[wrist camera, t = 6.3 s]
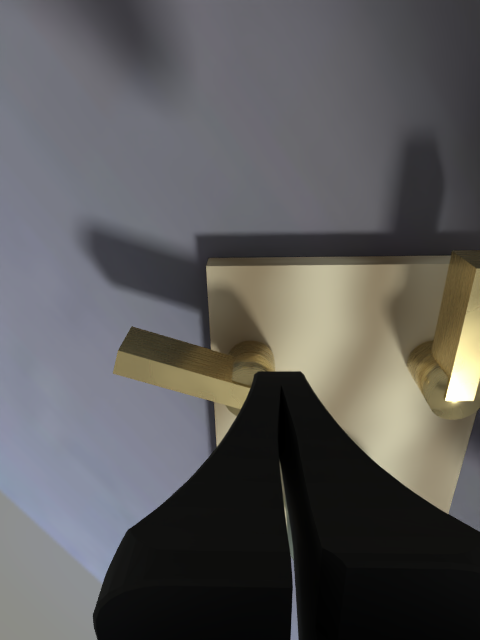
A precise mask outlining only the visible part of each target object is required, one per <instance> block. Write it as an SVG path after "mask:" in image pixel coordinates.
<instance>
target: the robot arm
mask: <svg viewBox="0 0 480 640" xmlns="http://www.w3.org/2000/svg"><path fill="white" fill-rule="evenodd" d="M280 465H281V471H282V478H283V484H284V490H285V496H286V503H287V509H288V515H289V521H290V528H291V535H292V544H293V555H294V571H295V586H296V602H297V618H298V635H299V640H480V532H479V531H477V530H475V529H474V528H472V527H470V526H468V525H467V524H465V523H463V522H461V521H460V520H458V519H456V518H454V517H453V516H451V515H449V514H447V513H446V512H444V511H442V510H440V509H439V508H437V507H436V506H434V505H432V504H431V503H429V502H428V501H426V500H425V499H423V498H422V497H420V496H419V495H417V494H416V493H414V492H413V491H412V490H410V489H409V488H407V487H406V486H405V485H403V484H402V483H401V482H399V481H398V480H397V479H396V478H394V477H393V476H392V475H390V474H389V473H388V472H387V471H385V470H384V469H383V468H381V467H380V466H379V465H378V464H377V463H376V462H375V461H373V460H372V459H371V458H370V457H369V456H368V455H367V454H366V453H365V452H364V451H363V450H362V449H361V448H360V447H359V446H358V445H357V444H356V443H355V442H354V441H353V440H352V439H351V438H350V437H349V436H348V435H347V433H346V432H345V431H344V430H343V429H342V428H341V427H340V426H339V424H338V423H337V422H336V421H335V419H334V418H333V417H332V416H331V414H330V413H329V412H328V410H327V409H326V408H325V407H324V405H323V404H322V402H321V401H320V400H319V398H318V397H317V395H316V394H315V392H314V391H313V389H312V388H311V386H310V384H309V383H308V381H307V379H306V377H305V375H304V374H303V373H302V372H301V371H258V372H257V373H255V374H254V378H253V382H252V385H251V388H250V391H249V393H248V395H247V398H246V400H245V402H244V404H243V406H242V408H241V410H240V412H239V414H238V415H237V417H236V419H235V420H234V422H233V424H232V425H231V427H230V428H229V430H228V432H227V433H226V435H225V436H224V438H223V439H222V441H221V442H220V443H219V445H218V446H217V447H216V449H215V450H214V451H213V453H212V454H211V455H210V456H209V458H208V459H207V460H206V461H205V462H204V463H203V465H202V466H201V467H200V468H199V469H198V470H197V471H196V473H195V474H194V475H193V476H192V477H191V478H190V479H189V480H188V481H187V482H186V483H185V484H184V485H183V486H181V487H180V488H179V489H178V490H177V491H176V492H175V493H174V494H173V495H172V496H171V497H170V498H168V499H167V500H166V501H165V502H164V503H163V504H162V505H160V506H159V507H158V508H157V509H156V510H154V511H153V512H152V513H150V514H149V515H148V516H146V517H145V518H144V519H142V520H141V521H140V522H138V523H137V524H136V525H134V526H133V527H131V528H130V529H129V530H127V532H126V534H125V536H124V537H123V539H122V541H121V543H120V545H119V547H118V549H117V551H116V553H115V555H114V557H113V560H112V562H111V564H110V566H109V568H108V571H107V573H106V576H105V579H104V581H103V585H102V588H101V591H100V594H99V597H98V601H97V604H96V607H95V610H94V613H93V623H94V629H95V632H96V636H97V639H98V640H290V637H291V613H292V590H293V585H292V569H291V556H290V547H289V540H288V533H287V525H286V518H285V510H284V501H283V492H282V483H281V473H280Z"/></svg>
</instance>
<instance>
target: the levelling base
mask: <svg viewBox="0 0 480 640" xmlns="http://www.w3.org/2000/svg"><path fill="white" fill-rule="evenodd" d="M450 258H451V256H356V257H258V258H209V259H208V262H207V265H206V273H207V290H208V307H209V324H210V341H211V350H214V351H217V352H221V353H224V354H227V355H228V354H229V352H230V350H231V349H232V348H233V347H234V346H235V345H237V344H239V343H241V342H244V341H257V342H260V343H263V344H265V345H266V346H267V347H268V348H269V349H270V350H271V351H272V353H273V355H274V360H275V371H301V372H302V373H303V374H304V375H305V377H306V379H307V381H308V383H309V384H310V386H311V388H312V389H313V391H314V392H315V394H316V395H317V397H318V398H319V400H320V401H321V402H322V404H323V405H324V407H325V408H326V409H327V410H328V412H329V413H330V414H331V416H332V417H333V418H334V419H335V421H336V422H337V423H338V424H339V426H340V427H341V428H342V429H343V430H344V431H345V432H346V433H347V435H348V436H349V437H350V438H351V439H352V440H353V441H354V442H355V443H356V444H357V445H358V446H359V447H360V448H361V449H362V450H363V451H364V452H365V453H366V454H367V455H368V456H369V457H370V458H371V459H372V460H373V461H375V462H376V463H377V464H378V465H379V466H380V467H381V468H383V469H384V470H385V471H387V472H388V473H389V474H390V475H392V476H393V477H394V478H396V479H397V480H398V481H399V482H401V483H402V484H403V485H405V486H406V487H407V488H409V489H410V490H412V491H413V492H414V493H416V494H417V495H419V496H420V497H422V498H423V499H425V500H426V501H428V502H429V503H431V504H432V505H434V506H436V507H437V508H439V509H440V510H442V511H444V512H446V513H447V514H448V513H449V509H450V505H451V502H452V498H453V495H454V491H455V488H456V484H457V481H458V477H459V473H460V470H461V466H462V463H463V459H464V456H465V452H466V448H467V445H468V441H469V438H470V434H471V431H472V427H473V424H474V420H475V416H476V413H477V411H476V412H475V413H473V414H472V415H470V416H468V417H465V418H462V419H457V420H448V419H443V418H440V417H438V416H437V415H435V414H434V413H433V412H432V410H431V409H430V407H429V405H428V403H427V402H426V400H425V398H424V397H423V395H422V393H421V391H420V390H419V388H418V386H417V385H416V383H415V381H414V379H413V378H412V376H411V374H410V372H409V370H408V367H407V361H408V358H409V356H410V354H411V352H412V351H413V350H414V349H415V348H416V347H417V346H419V345H420V344H422V343H425V342H427V341H432V340H434V336H435V331H436V326H437V321H438V316H439V311H440V306H441V302H442V297H443V292H444V287H445V282H446V277H447V272H448V267H449V263H450ZM214 409H215V426H216V443H217V446H218V445H219V443H220V442H221V441H222V439H223V438H224V436H225V435H226V433H227V432H228V430H229V428H230V427H231V425H232V424H233V422H234V420H235V419H236V417H237V416H236V415H234V414H232V413H231V412H230V411H229V410H228V409H227V407H226V406H225V405H224V404H220V403H217V402H214ZM280 473H281V483H282V492H283V501H284V510H285V518H286V525H287V533H288V540H289V547H290V554H291V557H292V558H293V560H294V555H293V544H292V535H291V528H290V521H289V515H288V509H287V503H286V496H285V490H284V484H283V478H282V471H281V465H280Z"/></svg>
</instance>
